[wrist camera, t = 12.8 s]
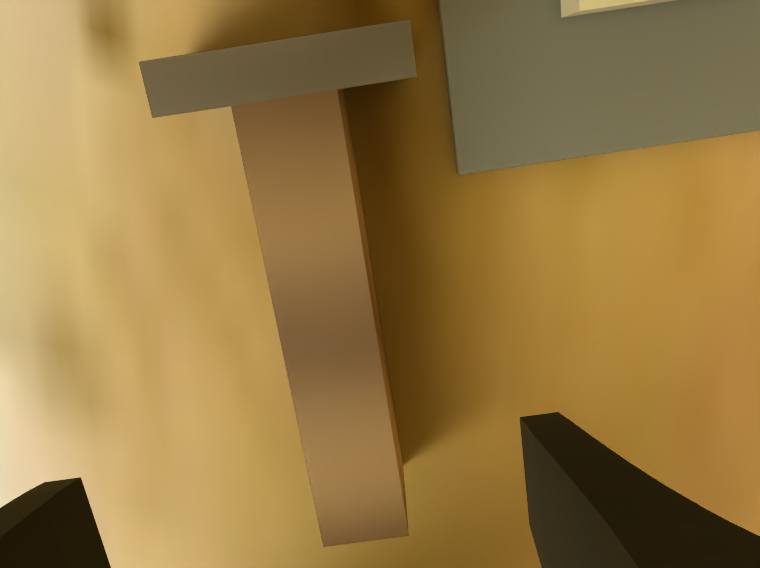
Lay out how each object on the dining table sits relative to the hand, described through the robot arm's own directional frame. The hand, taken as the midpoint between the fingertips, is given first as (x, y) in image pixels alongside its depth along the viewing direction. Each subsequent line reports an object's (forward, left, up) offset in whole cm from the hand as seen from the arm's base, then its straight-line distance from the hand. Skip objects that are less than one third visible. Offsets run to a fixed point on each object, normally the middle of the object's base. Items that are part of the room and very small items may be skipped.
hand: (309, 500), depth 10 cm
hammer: (+1, 0, -10) cm, 10 cm away
